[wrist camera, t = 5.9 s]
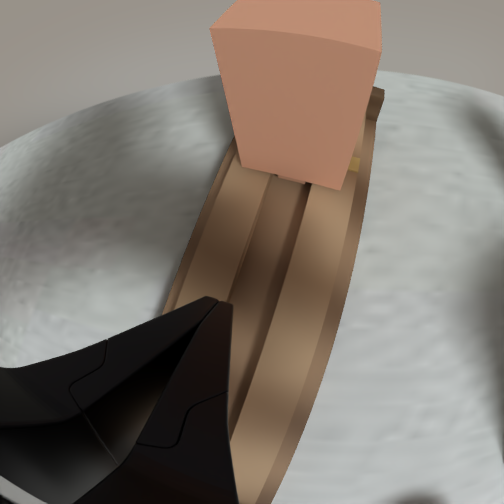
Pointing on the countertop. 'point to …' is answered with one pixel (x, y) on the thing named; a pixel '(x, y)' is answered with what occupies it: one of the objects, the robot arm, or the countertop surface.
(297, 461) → the countertop surface
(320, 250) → the wooden slide track
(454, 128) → the countertop surface
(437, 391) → the countertop surface
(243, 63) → the block
